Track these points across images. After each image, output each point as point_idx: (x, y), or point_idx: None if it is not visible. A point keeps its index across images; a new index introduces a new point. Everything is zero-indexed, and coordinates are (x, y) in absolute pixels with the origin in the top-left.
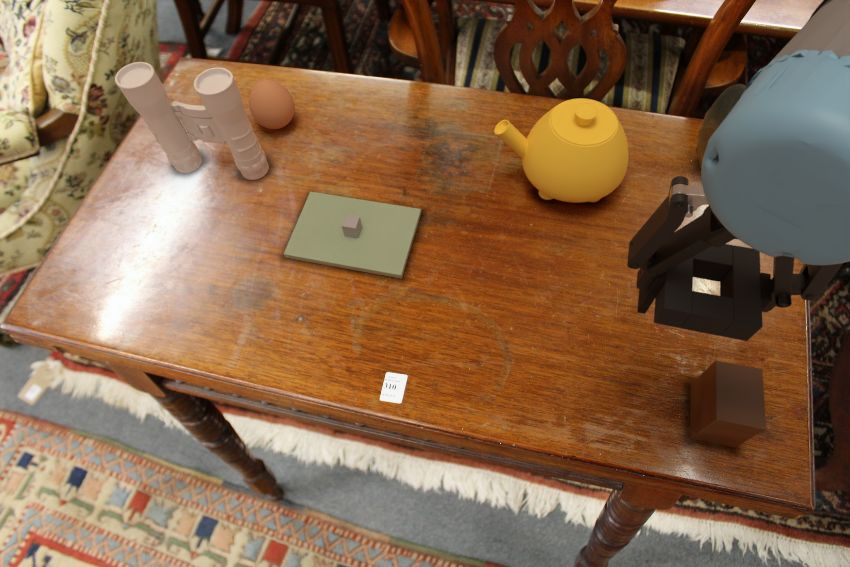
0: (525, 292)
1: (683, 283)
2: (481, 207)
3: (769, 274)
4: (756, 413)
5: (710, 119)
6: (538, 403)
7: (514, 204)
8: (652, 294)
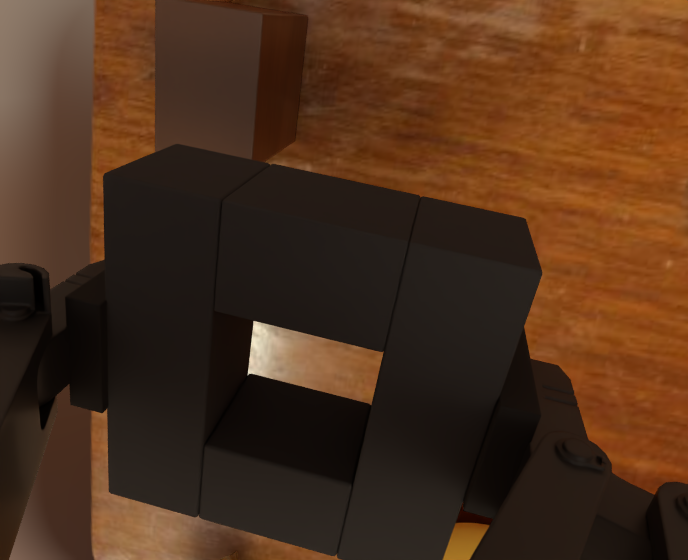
0: (615, 344)
1: (417, 387)
2: None
3: (74, 403)
4: (173, 38)
5: None
6: (641, 79)
7: None
8: None
